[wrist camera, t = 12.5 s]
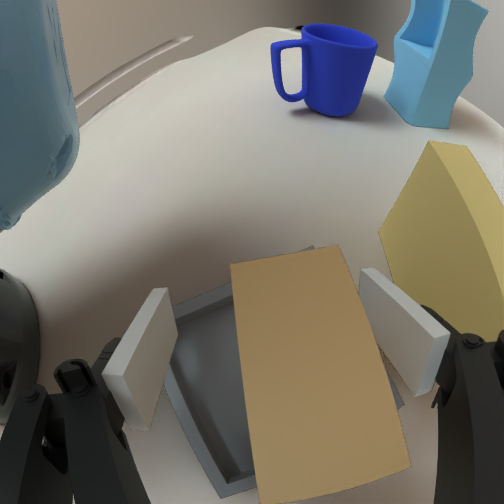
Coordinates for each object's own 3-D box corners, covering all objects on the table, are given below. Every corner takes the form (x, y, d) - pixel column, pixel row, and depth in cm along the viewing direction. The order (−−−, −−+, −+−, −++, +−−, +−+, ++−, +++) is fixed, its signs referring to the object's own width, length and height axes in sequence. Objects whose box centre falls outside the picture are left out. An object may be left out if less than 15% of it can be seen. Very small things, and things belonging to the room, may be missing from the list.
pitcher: (380, 93, 33) (407, -27, 15) (419, 97, 33) (450, -9, 16) (409, 126, 29) (452, -10, 12) (448, 129, 30) (493, 13, 12)
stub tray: (225, 486, 13) (220, 498, 11) (154, 329, 19) (140, 320, 16) (387, 404, 15) (404, 404, 13) (307, 262, 21) (312, 245, 18)
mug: (256, 99, 31) (254, 26, 22) (336, 86, 33) (345, 24, 24) (288, 136, 28) (294, 49, 19) (374, 118, 30) (393, 49, 21)
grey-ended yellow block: (450, 369, 16) (550, 334, 7) (415, 382, 16) (519, 356, 7) (411, 228, 22) (467, 144, 13) (378, 231, 22) (429, 137, 13)
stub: (340, 463, 12) (410, 467, 4) (277, 476, 12) (260, 505, 4) (317, 355, 16) (338, 244, 9) (260, 366, 16) (229, 264, 9)
